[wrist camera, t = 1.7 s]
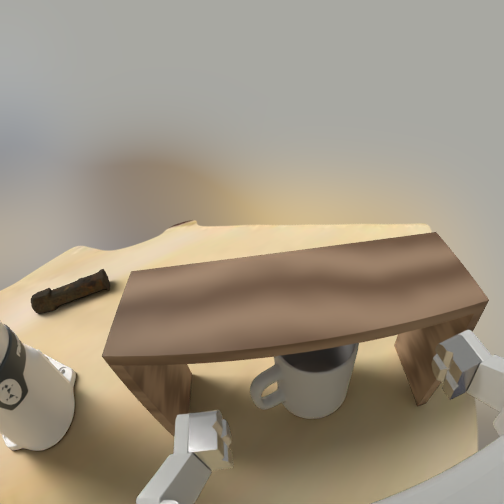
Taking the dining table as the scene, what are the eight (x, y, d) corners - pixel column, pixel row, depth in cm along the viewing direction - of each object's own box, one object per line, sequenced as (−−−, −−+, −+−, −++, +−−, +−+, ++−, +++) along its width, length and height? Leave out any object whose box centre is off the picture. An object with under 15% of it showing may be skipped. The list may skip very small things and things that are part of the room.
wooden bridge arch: (425, 403, 29) (488, 299, 19) (177, 440, 30) (101, 356, 20) (401, 343, 37) (435, 232, 27) (183, 374, 39) (131, 271, 28)
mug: (320, 351, 39) (324, 294, 33) (360, 394, 33) (377, 343, 26) (242, 394, 35) (225, 345, 29) (276, 447, 29) (269, 412, 22)
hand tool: (111, 280, 58) (102, 262, 55) (111, 292, 55) (102, 273, 52) (39, 306, 54) (28, 290, 51) (36, 318, 50) (25, 302, 48)
